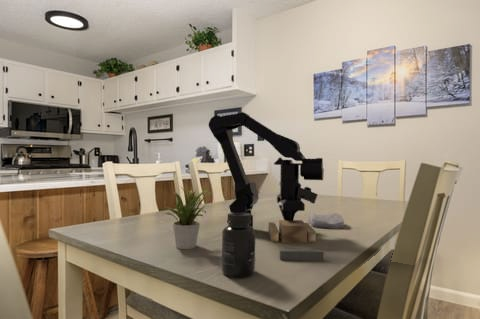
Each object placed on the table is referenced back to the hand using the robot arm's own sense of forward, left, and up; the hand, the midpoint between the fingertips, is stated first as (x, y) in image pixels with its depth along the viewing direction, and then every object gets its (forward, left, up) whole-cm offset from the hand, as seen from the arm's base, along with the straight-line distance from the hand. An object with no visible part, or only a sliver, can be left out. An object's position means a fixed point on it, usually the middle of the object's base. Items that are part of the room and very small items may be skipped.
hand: (289, 229), depth 95 cm
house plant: (-28, -15, -2) cm, 32 cm away
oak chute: (0, -3, -2) cm, 3 cm away
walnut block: (0, -6, -2) cm, 6 cm away
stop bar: (-1, -24, -2) cm, 24 cm away
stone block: (+15, +13, -2) cm, 20 cm away
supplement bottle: (-15, -33, -2) cm, 36 cm away
